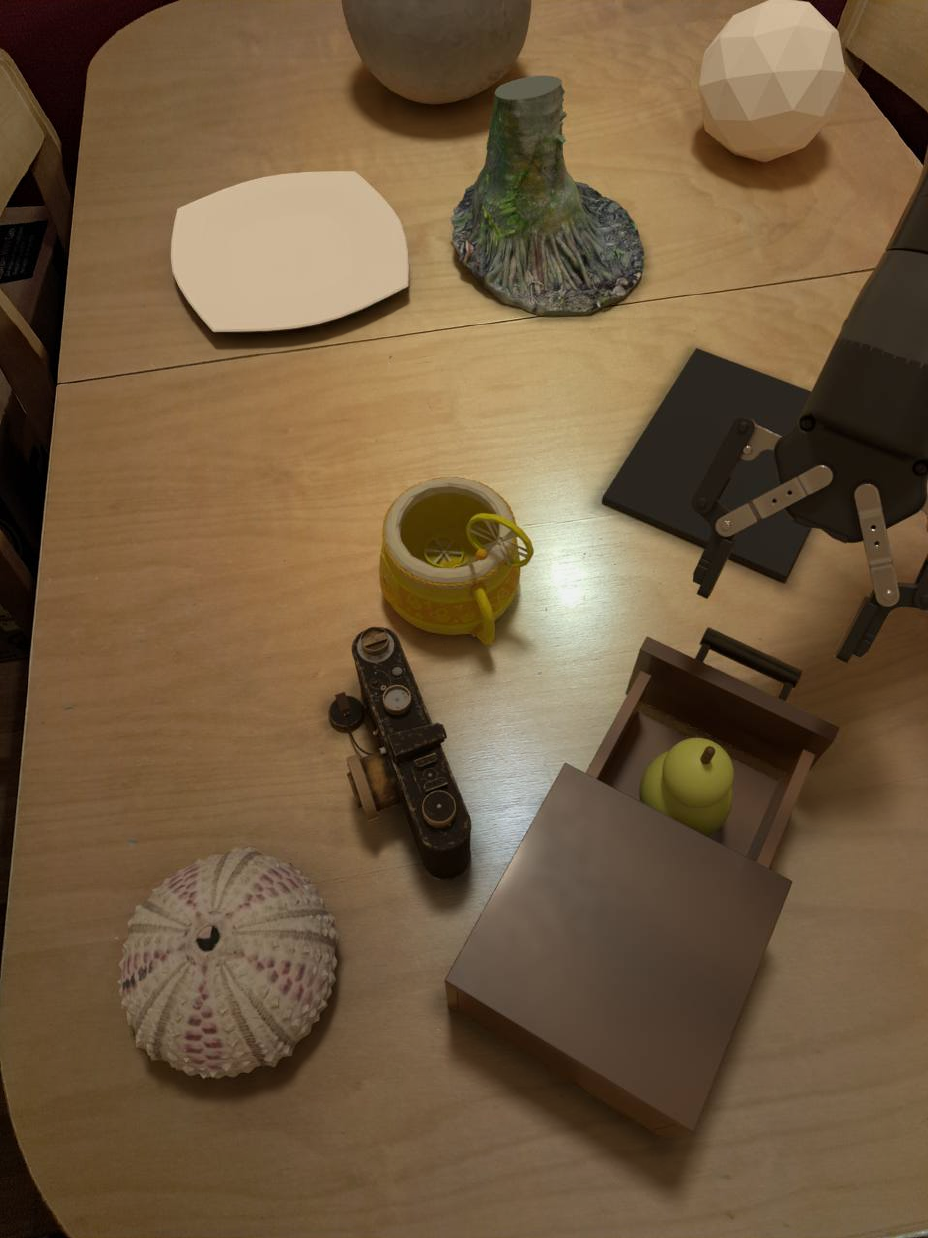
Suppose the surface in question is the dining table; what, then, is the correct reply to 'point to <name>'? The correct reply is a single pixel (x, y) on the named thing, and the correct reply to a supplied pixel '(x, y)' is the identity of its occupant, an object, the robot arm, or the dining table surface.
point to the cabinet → (619, 951)
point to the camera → (404, 755)
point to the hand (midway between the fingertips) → (771, 626)
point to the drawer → (719, 734)
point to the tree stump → (542, 215)
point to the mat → (687, 446)
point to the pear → (691, 784)
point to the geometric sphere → (771, 79)
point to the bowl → (438, 44)
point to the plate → (288, 252)
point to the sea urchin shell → (228, 964)
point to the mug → (451, 557)
